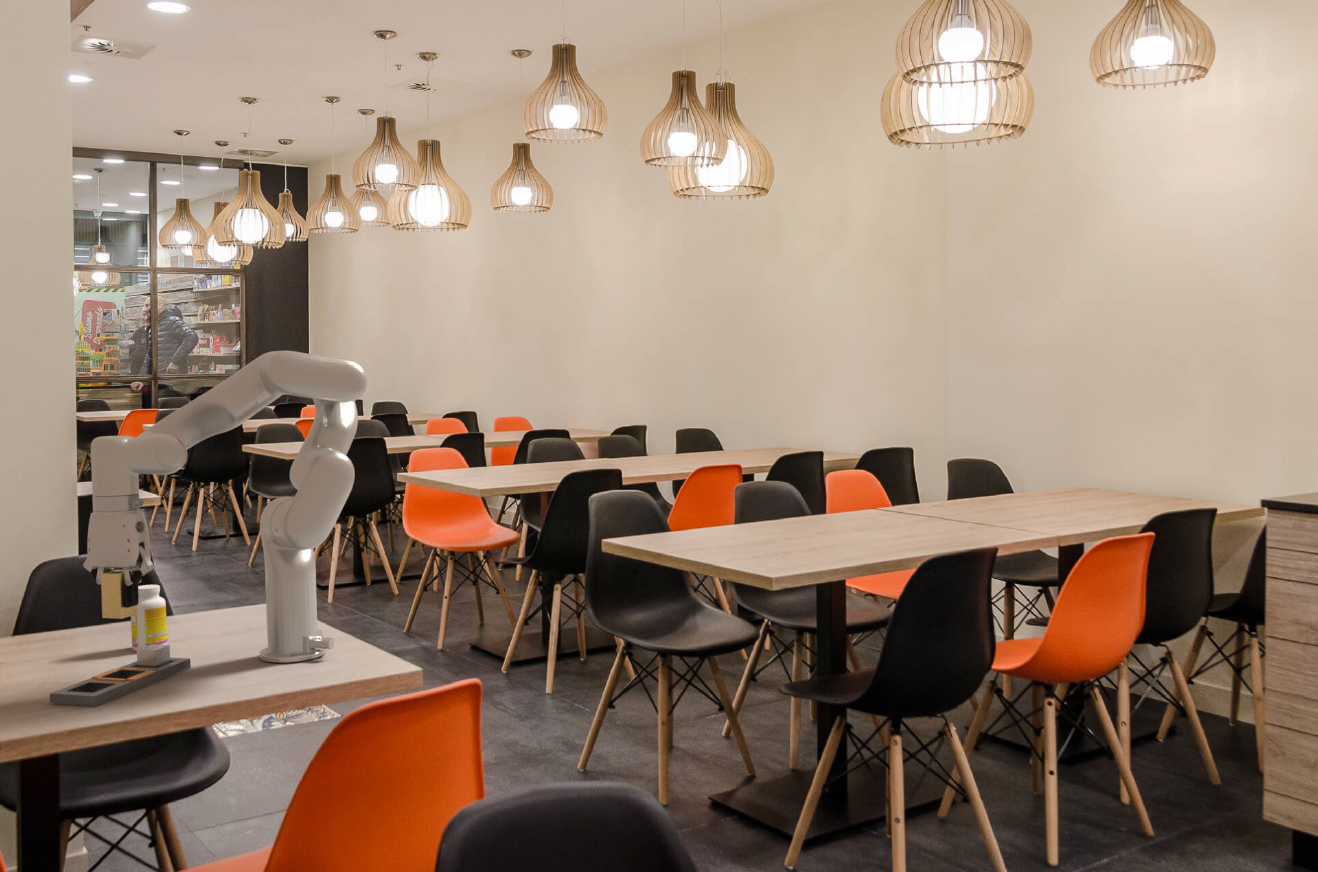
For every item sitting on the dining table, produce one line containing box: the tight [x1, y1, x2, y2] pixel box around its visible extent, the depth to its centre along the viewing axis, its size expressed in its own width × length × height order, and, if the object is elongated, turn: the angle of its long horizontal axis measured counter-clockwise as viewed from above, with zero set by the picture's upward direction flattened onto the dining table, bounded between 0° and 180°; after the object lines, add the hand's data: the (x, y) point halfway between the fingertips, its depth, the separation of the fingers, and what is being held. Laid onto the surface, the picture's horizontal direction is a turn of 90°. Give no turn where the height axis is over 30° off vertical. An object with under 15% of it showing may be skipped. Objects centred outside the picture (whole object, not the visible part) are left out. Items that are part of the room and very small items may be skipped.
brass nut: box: [101, 569, 137, 620], centre depth 197 cm, size 4×4×8 cm
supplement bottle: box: [130, 584, 169, 652], centre depth 225 cm, size 7×7×13 cm
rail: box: [49, 657, 192, 708], centre depth 198 cm, size 9×25×2 cm, turn 167°
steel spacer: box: [136, 644, 171, 668], centre depth 205 cm, size 4×4×5 cm
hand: (119, 604), depth 197 cm, fingers closed on brass nut, 4 cm apart
